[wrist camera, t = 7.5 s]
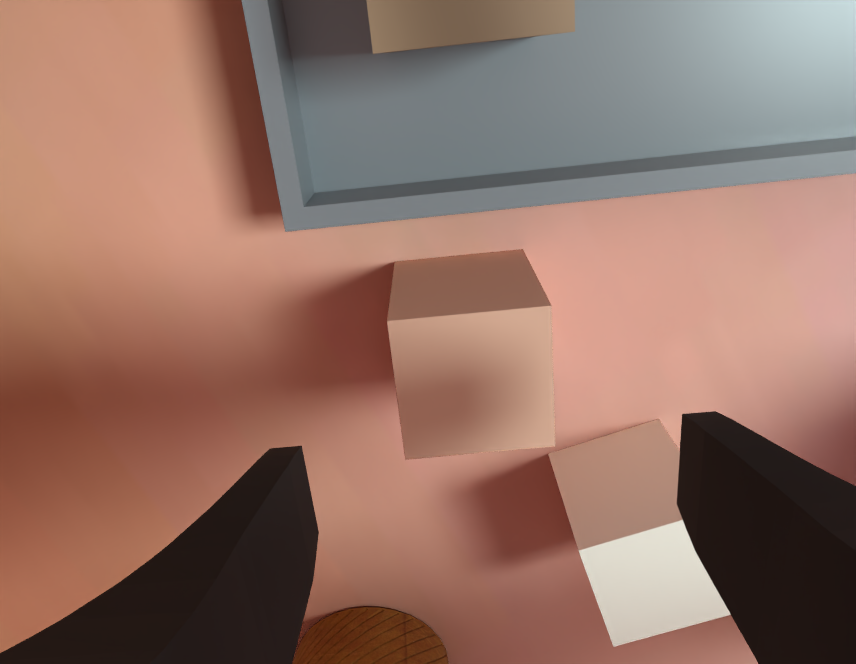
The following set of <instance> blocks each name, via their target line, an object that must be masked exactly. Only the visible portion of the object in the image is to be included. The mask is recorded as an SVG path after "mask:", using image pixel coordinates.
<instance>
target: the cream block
mask: <svg viewBox="0 0 856 664" xmlns="http://www.w3.org/2000/svg"><path fill="white" fill-rule="evenodd" d="M548 455H549V458H550V461H551V465H552V468H553V471H554V474H555V477H556V481H557V484H558V487H559V490H560V493H561V497H562V500H563V503H564V506H565V509H566V512H567V516H568V519H569V522H570V525H571V528H572V532H573V535H574V538H575V541H576V544H577V547H578V551H579V553H580V556H581V559H582V562H583V564H584V567H585V570H586V573H587V575H588V578H589V581H590V584H591V586H592V589H593V592H594V595H595V597H596V600H597V603H598V606H599V608H600V611H601V614H602V617H603V619H604V622H605V625H606V628H607V630H608V633H609V636H610V639H611V641H612V644H613V647H615V646H619V645H622V644H626V643H629V642H633V641H637V640H640V639H644V638H648V637H651V636H655V635H659V634H662V633H666V632H670V631H673V630H677V629H681V628H684V627H688V626H691V625H695V624H699V623H702V622H706V621H710V620H713V619H717V618H721V617H724V616H728V615H731V614H730V612H729V610H728V609H727V607H726V605H725V603H724V602H723V600H722V598H721V596H720V595H719V593H718V591H717V589H716V588H715V586H714V584H713V582H712V580H711V579H710V577H709V575H708V573H707V572H706V570H705V568H704V566H703V564H702V563H701V561H700V559H699V557H698V555H697V553H696V552H695V549H694V547H693V545H692V542H691V540H690V537H689V535H688V532H687V530H686V527H685V525H684V522H683V520H682V517H681V514H680V512H679V509H678V506H677V489H678V473H679V458H680V451H679V449H678V448H677V446H676V445H675V443H674V441H673V440H672V438H671V437H670V435H669V434H668V432H667V431H666V429H665V427H664V426H663V424H662V423H661V421H660V420H659V419H656V420H653V421H650V422H647V423H644V424H640V425H637V426H634V427H631V428H628V429H625V430H622V431H618V432H615V433H612V434H609V435H606V436H603V437H599V438H596V439H593V440H590V441H587V442H584V443H580V444H577V445H574V446H571V447H568V448H565V449H561V450H558V451H555V452H552V453H549V454H548Z"/></svg>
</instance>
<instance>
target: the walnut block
mask: <svg viewBox="0 0 856 664" xmlns="http://www.w3.org/2000/svg"><path fill="white" fill-rule="evenodd" d="M366 1H367V9H368V17H369V25H370V33H371V42H372V50H373V54H377V53H389V52H398V51H407V50H417V49H426V48H435V47H444V46H453V45H462V44H471V43H481V42H490V41H499V40H508V39H517V38H526V37H535V36H544V35H552V34H560V33H568V32H575V0H366Z"/></svg>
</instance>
